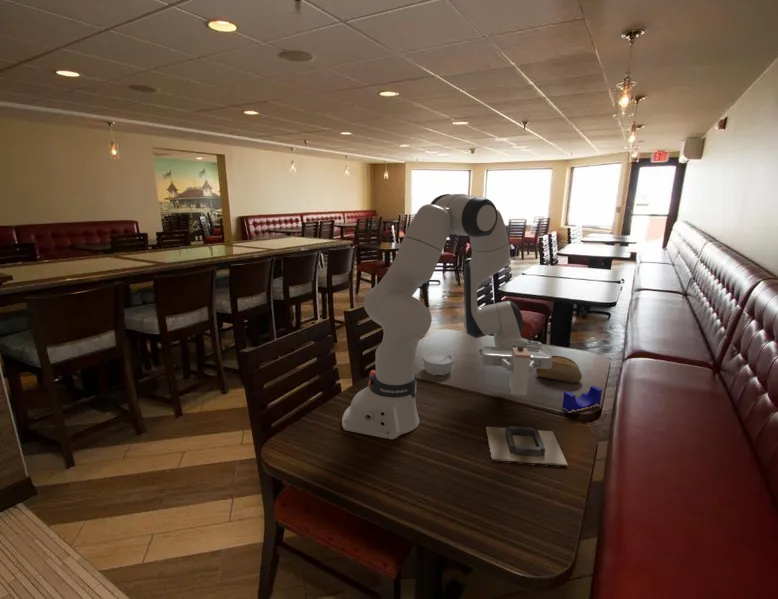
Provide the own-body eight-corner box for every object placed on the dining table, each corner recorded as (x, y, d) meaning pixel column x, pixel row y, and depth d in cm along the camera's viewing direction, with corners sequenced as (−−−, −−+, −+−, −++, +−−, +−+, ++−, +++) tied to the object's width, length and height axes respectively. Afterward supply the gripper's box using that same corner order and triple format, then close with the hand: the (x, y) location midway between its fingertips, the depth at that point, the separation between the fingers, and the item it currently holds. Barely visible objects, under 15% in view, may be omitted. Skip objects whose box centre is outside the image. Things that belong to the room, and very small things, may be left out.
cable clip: (587, 400, 130) (590, 383, 128) (599, 407, 126) (602, 389, 124) (558, 407, 126) (560, 389, 124) (569, 414, 122) (571, 396, 120)
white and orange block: (511, 394, 114) (515, 351, 110) (508, 385, 119) (512, 344, 115) (526, 395, 113) (530, 352, 110) (522, 386, 118) (526, 344, 115)
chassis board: (491, 460, 100) (492, 451, 100) (485, 429, 114) (486, 420, 113) (567, 467, 98) (568, 457, 98) (552, 433, 112) (553, 424, 111)
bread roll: (535, 370, 151) (537, 350, 149) (579, 376, 147) (581, 355, 145) (535, 381, 143) (537, 360, 141) (582, 388, 138) (584, 366, 136)
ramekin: (454, 377, 146) (455, 364, 144) (423, 377, 146) (423, 363, 144) (450, 364, 156) (451, 352, 155) (421, 364, 157) (422, 351, 155)
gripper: (479, 339, 127) (483, 356, 114) (546, 342, 124) (558, 360, 111) (477, 357, 129) (481, 377, 115) (544, 361, 126) (556, 381, 113)
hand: (520, 368), depth 113 cm, fingers closed on white and orange block, 4 cm apart
